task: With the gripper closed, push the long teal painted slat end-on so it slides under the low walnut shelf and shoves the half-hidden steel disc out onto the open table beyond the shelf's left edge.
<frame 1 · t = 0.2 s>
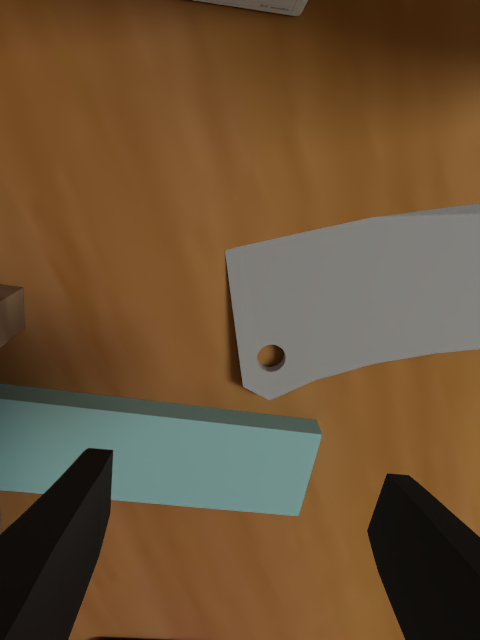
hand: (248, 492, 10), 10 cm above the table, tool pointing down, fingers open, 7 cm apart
slat: (145, 438, 22), on the table
kitchen cleaver: (466, 285, 20), on the table
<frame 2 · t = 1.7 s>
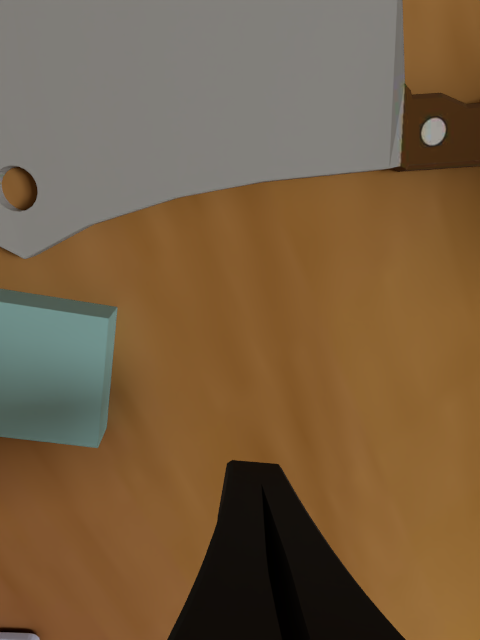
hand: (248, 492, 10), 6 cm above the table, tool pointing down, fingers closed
kitchen cleaver: (313, 82, 13), on the table
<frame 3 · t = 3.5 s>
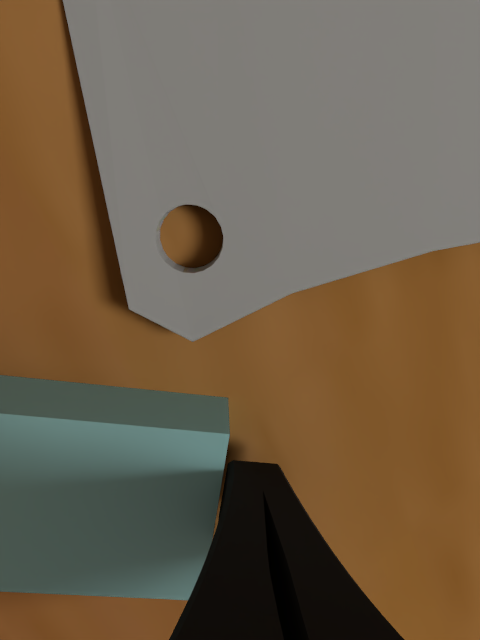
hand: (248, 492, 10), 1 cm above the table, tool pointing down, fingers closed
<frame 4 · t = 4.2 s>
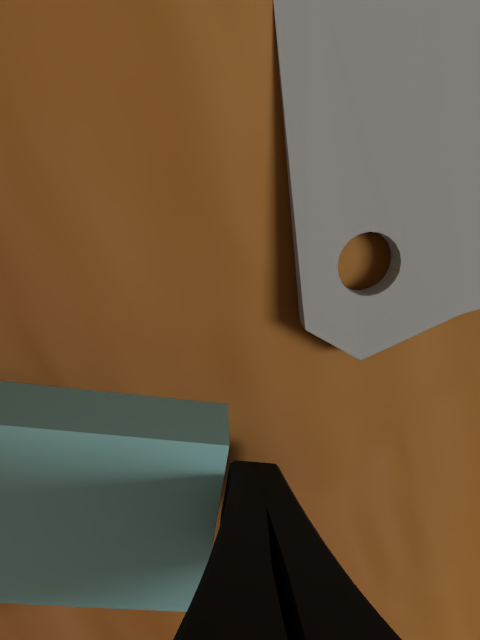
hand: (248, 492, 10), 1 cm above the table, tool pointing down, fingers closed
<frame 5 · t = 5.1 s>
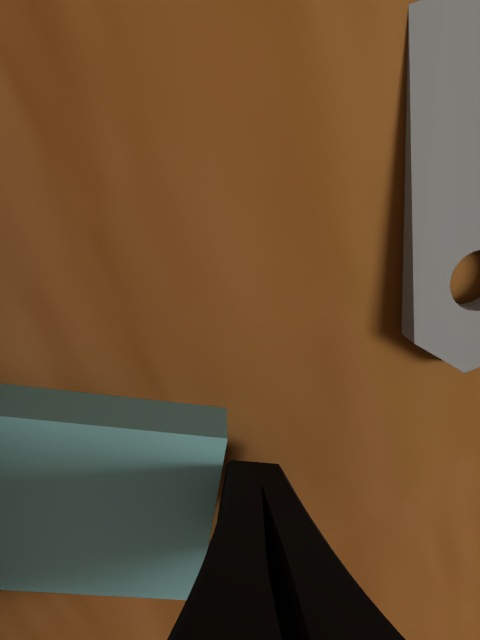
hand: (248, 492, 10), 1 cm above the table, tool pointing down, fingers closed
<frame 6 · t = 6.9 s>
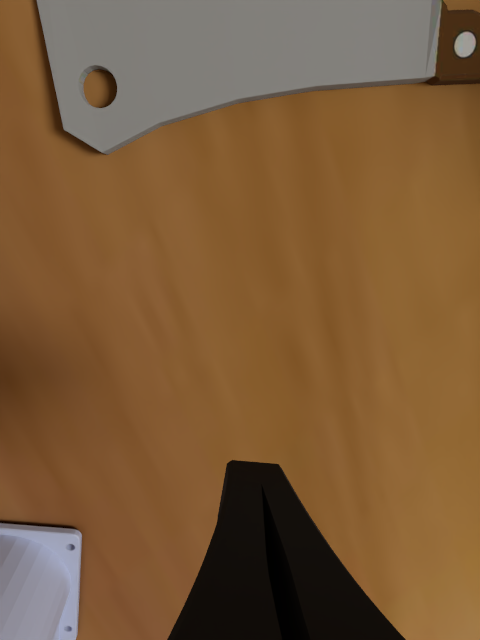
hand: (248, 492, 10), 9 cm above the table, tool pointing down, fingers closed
kitchen cleaver: (360, 1, 15), on the table
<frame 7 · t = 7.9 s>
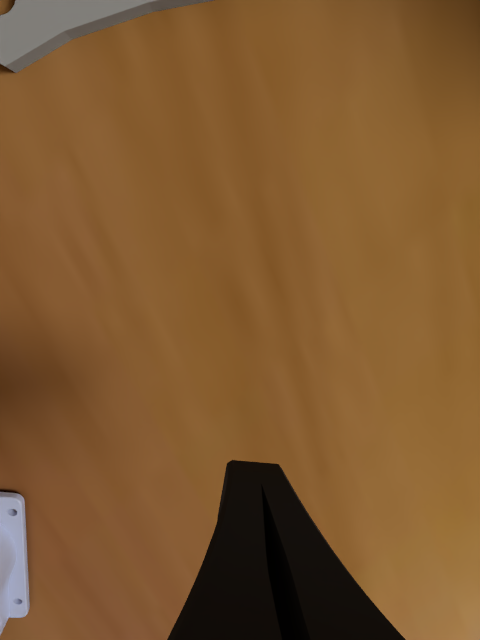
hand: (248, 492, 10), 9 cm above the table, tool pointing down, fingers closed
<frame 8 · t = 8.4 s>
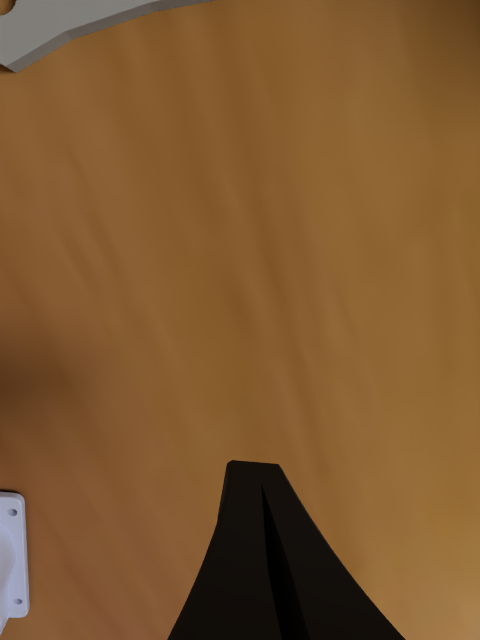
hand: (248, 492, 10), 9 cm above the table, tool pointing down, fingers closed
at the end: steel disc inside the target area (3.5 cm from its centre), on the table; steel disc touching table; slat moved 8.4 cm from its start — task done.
